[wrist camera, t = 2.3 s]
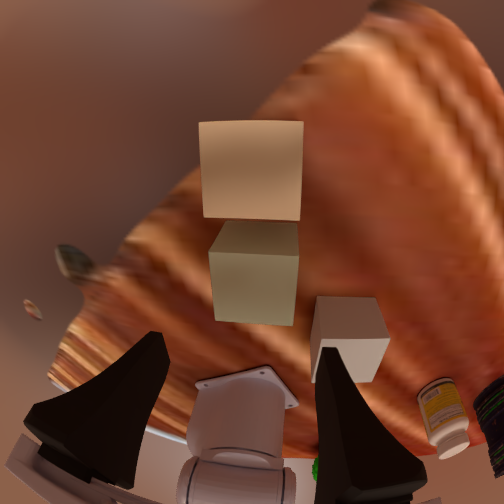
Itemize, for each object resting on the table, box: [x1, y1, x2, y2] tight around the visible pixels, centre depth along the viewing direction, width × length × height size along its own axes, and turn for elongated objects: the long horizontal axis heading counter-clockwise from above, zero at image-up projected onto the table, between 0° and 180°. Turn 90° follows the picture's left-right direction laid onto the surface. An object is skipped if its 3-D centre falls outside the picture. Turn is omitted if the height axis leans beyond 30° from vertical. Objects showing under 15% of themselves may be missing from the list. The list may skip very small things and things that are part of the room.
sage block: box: [208, 221, 299, 326], centre depth 19 cm, size 5×5×5 cm
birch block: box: [199, 120, 303, 221], centre depth 16 cm, size 5×5×5 cm
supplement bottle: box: [417, 378, 470, 459], centre depth 22 cm, size 5×5×10 cm
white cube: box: [310, 296, 390, 383], centre depth 21 cm, size 5×5×5 cm
